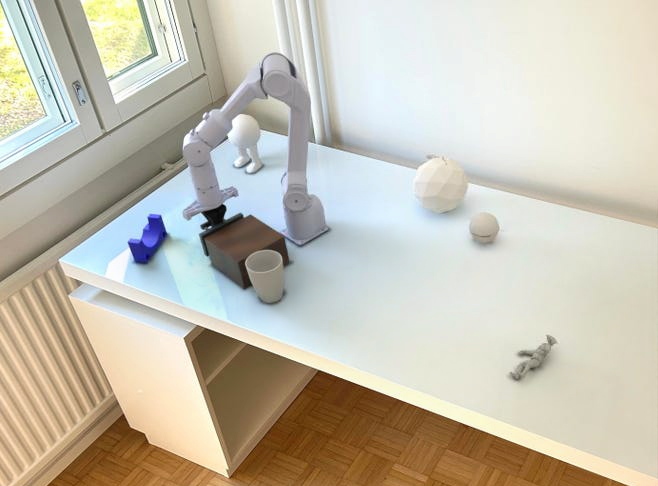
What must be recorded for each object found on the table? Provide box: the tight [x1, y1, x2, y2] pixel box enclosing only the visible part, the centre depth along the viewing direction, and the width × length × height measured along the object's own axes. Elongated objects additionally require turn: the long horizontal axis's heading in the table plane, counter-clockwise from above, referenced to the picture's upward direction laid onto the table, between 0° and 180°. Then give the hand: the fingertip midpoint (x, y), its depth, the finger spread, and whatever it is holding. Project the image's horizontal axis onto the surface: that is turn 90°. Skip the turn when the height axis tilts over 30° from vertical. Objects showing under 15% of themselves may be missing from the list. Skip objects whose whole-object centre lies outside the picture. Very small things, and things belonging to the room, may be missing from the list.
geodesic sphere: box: [412, 154, 469, 214], centre depth 187 cm, size 15×14×14 cm
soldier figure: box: [509, 334, 559, 380], centre depth 150 cm, size 8×5×12 cm
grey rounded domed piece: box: [468, 211, 503, 244], centre depth 179 cm, size 10×7×7 cm
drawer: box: [198, 212, 245, 257], centre depth 178 cm, size 17×12×6 cm
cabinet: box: [205, 214, 290, 290], centre depth 175 cm, size 13×13×8 cm
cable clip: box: [127, 213, 168, 264], centre depth 182 cm, size 12×4×6 cm, turn 168°
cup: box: [245, 250, 285, 304], centre depth 166 cm, size 8×8×10 cm
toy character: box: [226, 113, 263, 174], centre depth 205 cm, size 9×9×15 cm
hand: (218, 231), depth 181 cm, fingers closed, pressing on drawer
